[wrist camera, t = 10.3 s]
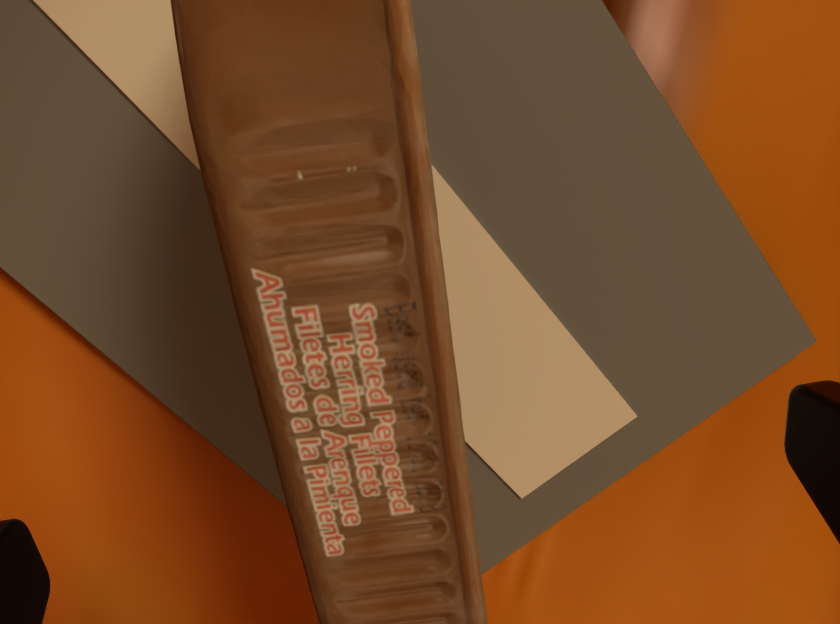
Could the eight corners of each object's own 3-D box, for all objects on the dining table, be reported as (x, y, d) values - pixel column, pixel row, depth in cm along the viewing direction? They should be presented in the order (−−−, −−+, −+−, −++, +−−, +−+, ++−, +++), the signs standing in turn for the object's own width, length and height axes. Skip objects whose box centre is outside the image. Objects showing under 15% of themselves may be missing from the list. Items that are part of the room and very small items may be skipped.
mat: (-186, 94, 15) (-206, 97, 14) (311, -444, 12) (309, -466, 12) (418, 604, 22) (420, 620, 21) (805, 333, 19) (818, 342, 19)
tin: (464, 482, 19) (544, 790, 12) (352, 501, 19) (358, 825, 12) (385, -152, 13) (442, -377, 6) (221, -131, 13) (52, -331, 6)
